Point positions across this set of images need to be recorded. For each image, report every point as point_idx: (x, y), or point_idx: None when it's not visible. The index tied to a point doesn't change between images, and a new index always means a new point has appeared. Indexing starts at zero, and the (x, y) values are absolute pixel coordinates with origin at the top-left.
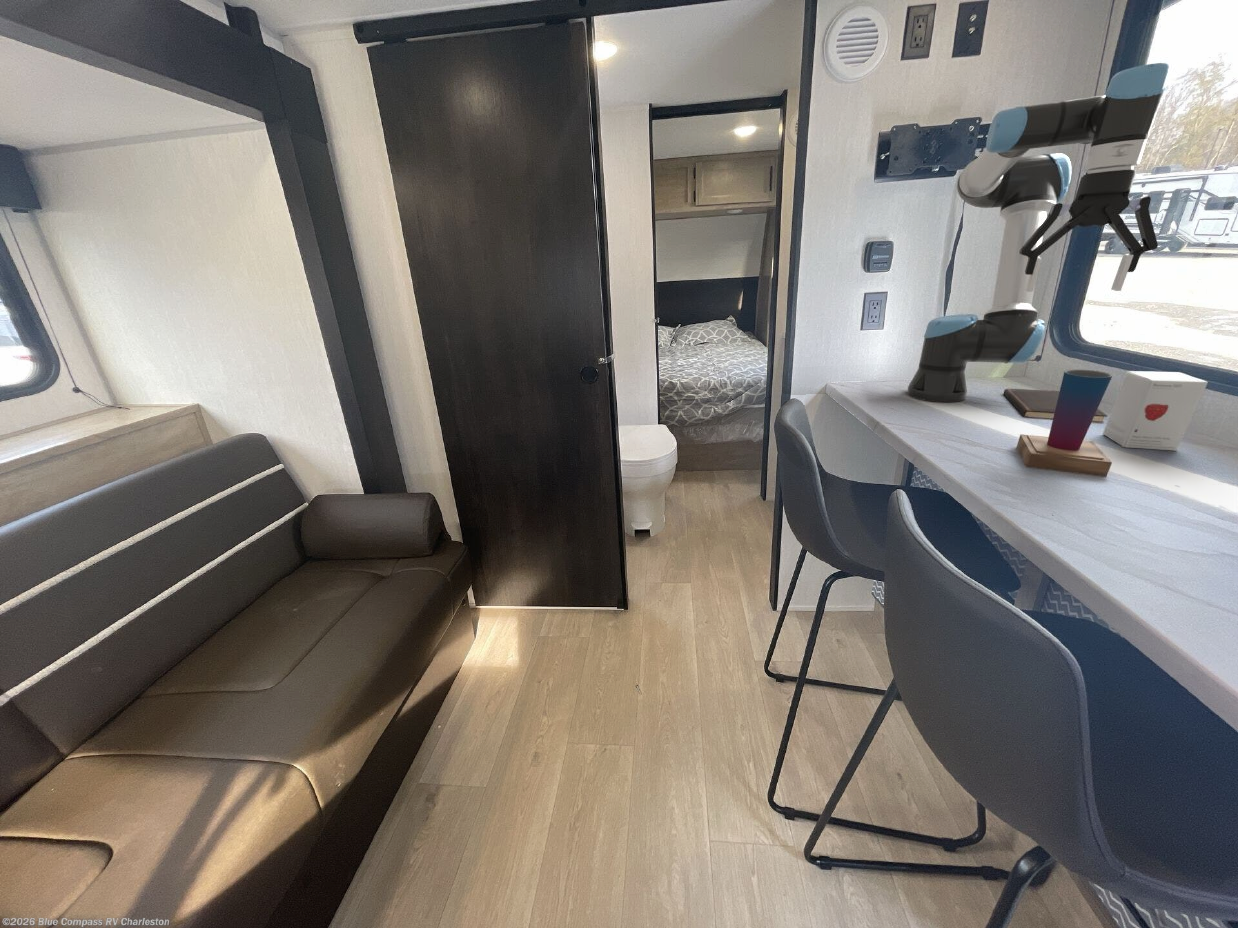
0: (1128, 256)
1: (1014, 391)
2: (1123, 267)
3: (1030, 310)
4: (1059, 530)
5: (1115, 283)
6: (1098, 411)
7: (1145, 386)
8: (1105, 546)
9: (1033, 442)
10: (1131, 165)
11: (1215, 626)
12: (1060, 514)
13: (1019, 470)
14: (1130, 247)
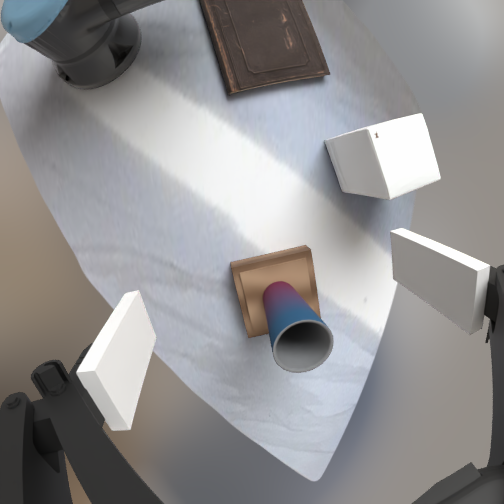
0: (468, 330)
1: None
2: (439, 308)
3: None
4: (273, 431)
5: (404, 259)
6: (320, 56)
7: (381, 191)
8: (296, 434)
9: (248, 302)
10: None
11: (325, 463)
12: (274, 411)
13: (241, 343)
14: (491, 348)
